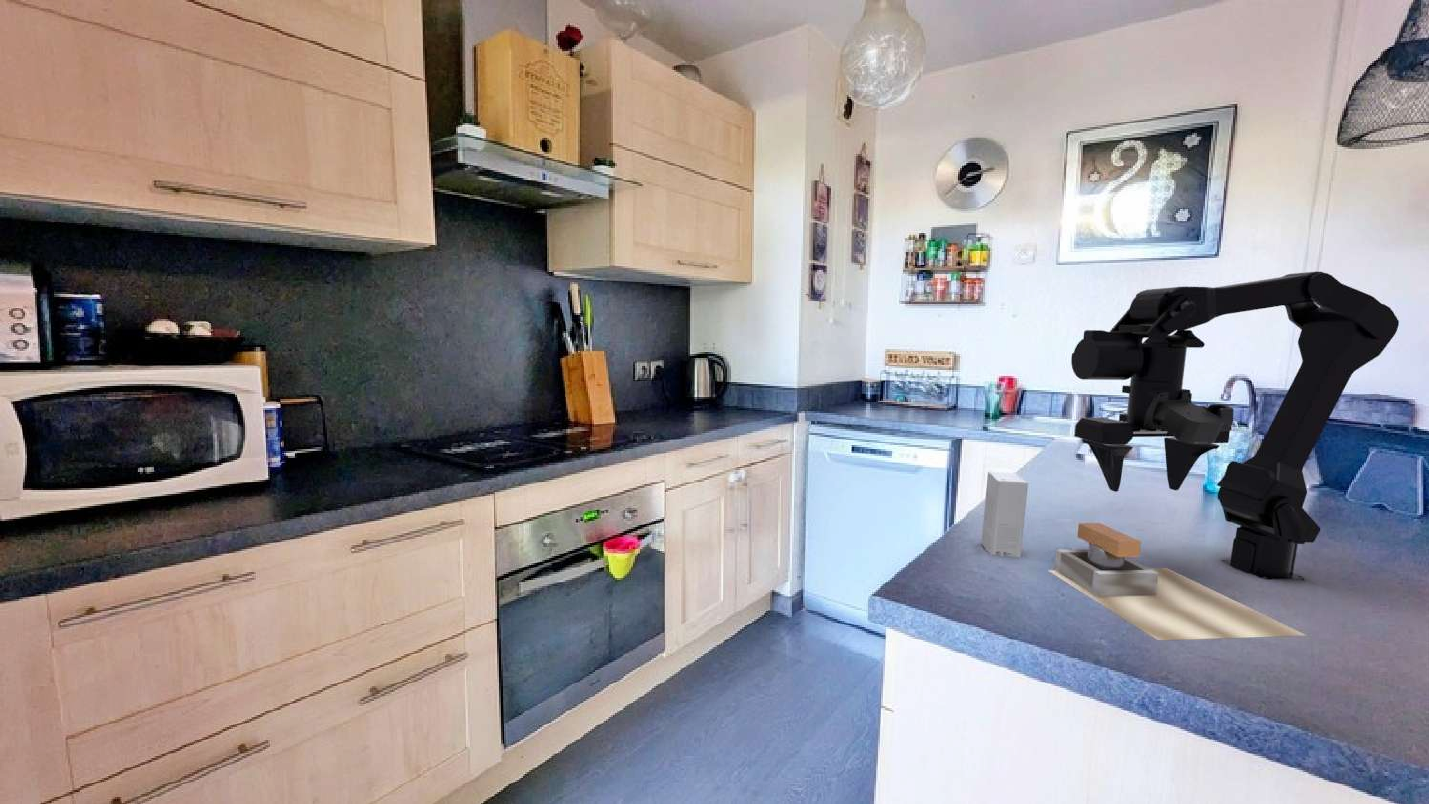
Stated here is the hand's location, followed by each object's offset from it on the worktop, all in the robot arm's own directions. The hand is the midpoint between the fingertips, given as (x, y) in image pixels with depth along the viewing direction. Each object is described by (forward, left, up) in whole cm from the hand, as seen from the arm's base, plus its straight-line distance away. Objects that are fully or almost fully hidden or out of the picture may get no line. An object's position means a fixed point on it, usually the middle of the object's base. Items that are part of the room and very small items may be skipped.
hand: (1143, 490), depth 80 cm
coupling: (+9, +5, -11) cm, 15 cm away
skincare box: (+16, -7, -12) cm, 21 cm away
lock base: (+5, +10, -12) cm, 16 cm away
